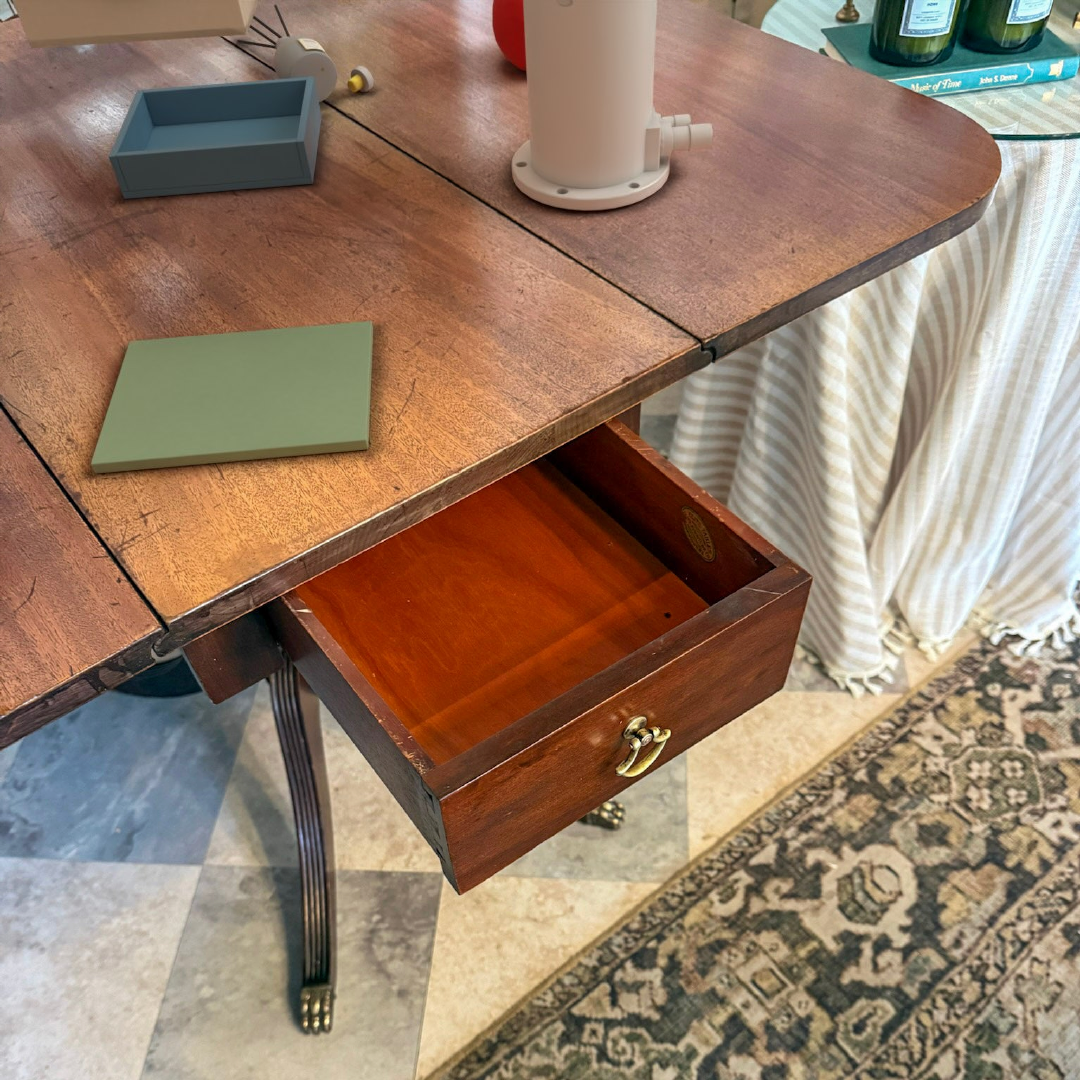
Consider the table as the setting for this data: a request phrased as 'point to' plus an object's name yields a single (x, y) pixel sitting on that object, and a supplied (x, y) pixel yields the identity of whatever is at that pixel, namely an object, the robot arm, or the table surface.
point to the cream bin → (130, 20)
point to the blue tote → (218, 138)
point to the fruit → (510, 30)
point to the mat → (239, 397)
